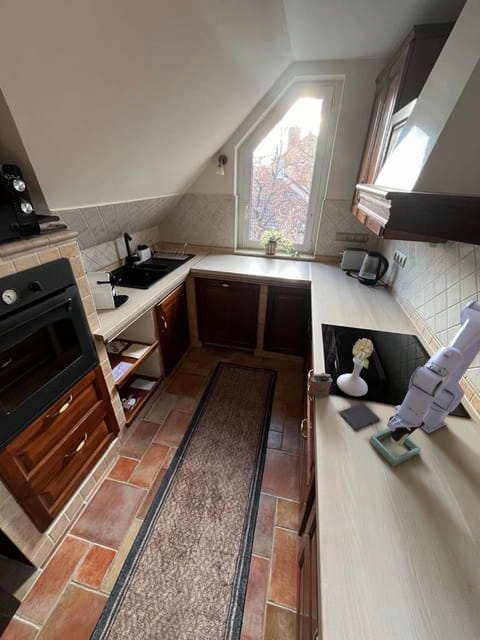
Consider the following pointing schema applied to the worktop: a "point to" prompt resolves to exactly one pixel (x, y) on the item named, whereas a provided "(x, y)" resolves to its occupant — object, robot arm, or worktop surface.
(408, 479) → the worktop surface
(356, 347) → the flower in vase
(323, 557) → the worktop surface
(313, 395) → the lighter
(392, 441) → the shaving stick
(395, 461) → the green rectangular frame
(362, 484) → the worktop surface
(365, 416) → the slate mat
